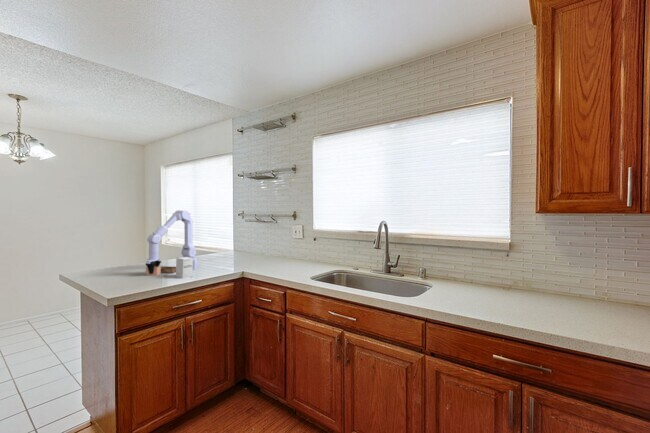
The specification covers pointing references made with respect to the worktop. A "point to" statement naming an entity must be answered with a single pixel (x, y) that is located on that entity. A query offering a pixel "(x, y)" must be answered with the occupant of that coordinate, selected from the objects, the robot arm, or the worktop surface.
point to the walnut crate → (168, 269)
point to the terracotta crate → (156, 270)
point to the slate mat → (158, 275)
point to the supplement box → (184, 267)
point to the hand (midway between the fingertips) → (153, 272)
